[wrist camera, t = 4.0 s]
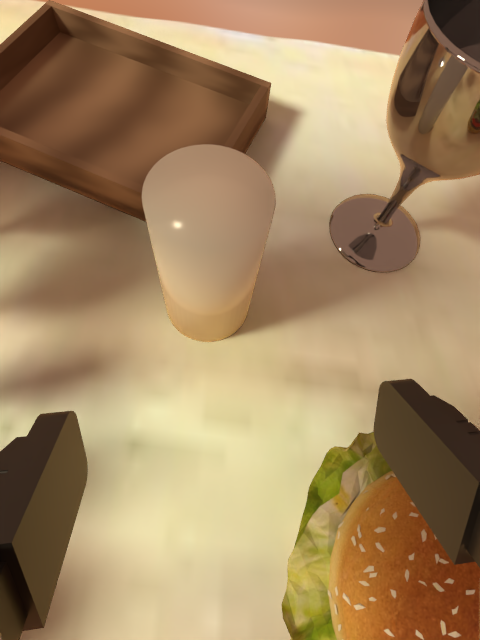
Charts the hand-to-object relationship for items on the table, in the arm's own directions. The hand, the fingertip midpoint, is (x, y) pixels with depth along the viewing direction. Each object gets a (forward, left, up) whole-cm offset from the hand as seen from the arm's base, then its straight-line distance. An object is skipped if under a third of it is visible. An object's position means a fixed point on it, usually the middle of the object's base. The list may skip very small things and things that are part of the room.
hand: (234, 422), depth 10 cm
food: (+11, -2, -14) cm, 18 cm away
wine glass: (+4, +19, -14) cm, 24 cm away
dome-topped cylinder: (-5, +8, -14) cm, 17 cm away
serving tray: (-18, +19, -14) cm, 30 cm away
